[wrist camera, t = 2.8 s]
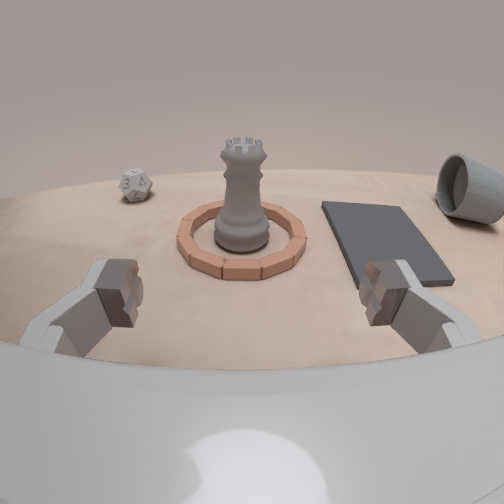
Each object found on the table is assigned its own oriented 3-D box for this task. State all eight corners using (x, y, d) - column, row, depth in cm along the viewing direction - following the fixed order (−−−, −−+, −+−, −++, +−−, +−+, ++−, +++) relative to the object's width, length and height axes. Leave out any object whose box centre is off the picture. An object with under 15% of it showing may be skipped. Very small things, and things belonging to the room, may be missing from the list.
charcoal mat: (357, 289, 20) (359, 282, 20) (321, 206, 30) (322, 201, 29) (452, 285, 20) (455, 279, 20) (398, 211, 30) (399, 206, 30)
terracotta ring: (168, 278, 20) (166, 267, 20) (189, 208, 28) (188, 199, 28) (314, 280, 21) (316, 268, 20) (293, 210, 29) (294, 200, 28)
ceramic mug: (499, 236, 28) (520, 181, 23) (453, 227, 28) (474, 165, 24) (464, 198, 36) (478, 152, 32) (421, 189, 37) (434, 138, 32)
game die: (142, 188, 32) (139, 163, 30) (160, 196, 30) (157, 170, 29) (116, 199, 30) (111, 173, 28) (133, 209, 28) (128, 181, 26)
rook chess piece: (220, 259, 22) (218, 153, 17) (209, 227, 26) (206, 136, 21) (277, 250, 23) (287, 150, 19) (259, 221, 27) (264, 133, 22)
